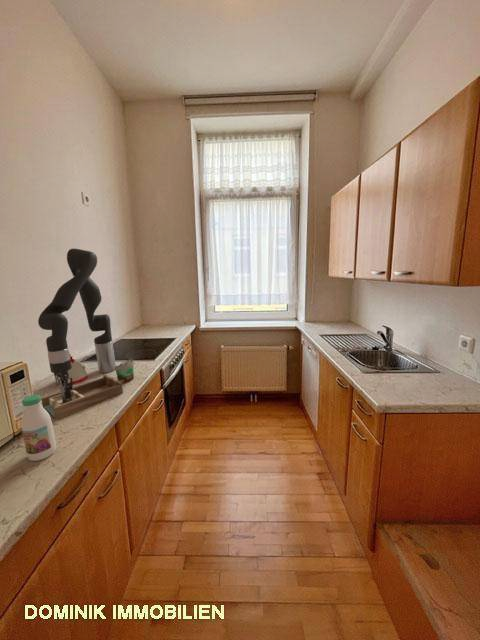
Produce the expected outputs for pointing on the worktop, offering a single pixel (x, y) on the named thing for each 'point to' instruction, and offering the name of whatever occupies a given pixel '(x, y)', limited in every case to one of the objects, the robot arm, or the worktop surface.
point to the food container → (125, 371)
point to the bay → (86, 396)
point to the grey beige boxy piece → (61, 400)
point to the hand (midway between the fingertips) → (66, 396)
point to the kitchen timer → (77, 372)
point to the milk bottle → (37, 429)
